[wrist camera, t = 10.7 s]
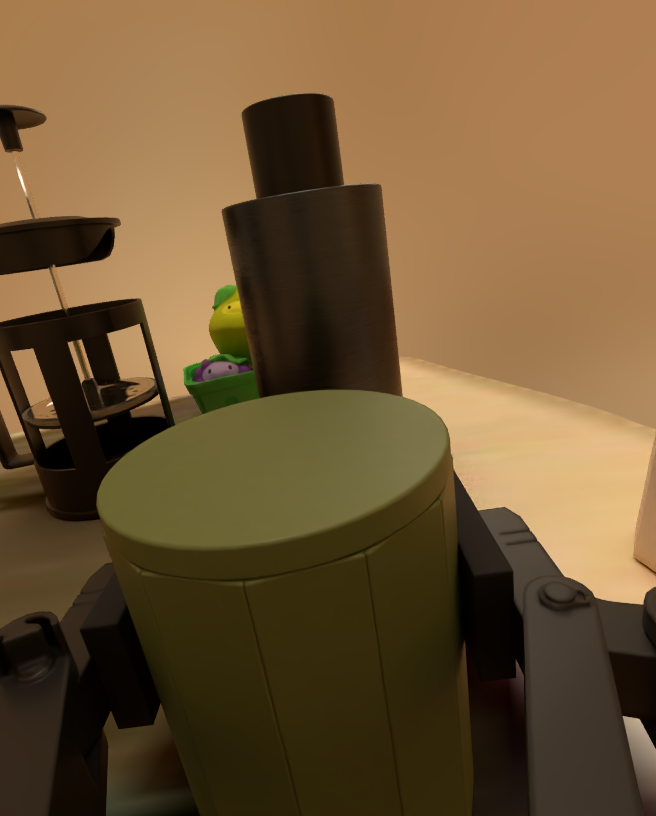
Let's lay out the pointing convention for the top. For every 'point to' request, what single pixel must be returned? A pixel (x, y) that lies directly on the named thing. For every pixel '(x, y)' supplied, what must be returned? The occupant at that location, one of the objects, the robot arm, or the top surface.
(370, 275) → the flask
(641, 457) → the top surface
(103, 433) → the french press
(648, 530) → the salt shaker
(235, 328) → the fruit basket
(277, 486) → the olive tea canister
